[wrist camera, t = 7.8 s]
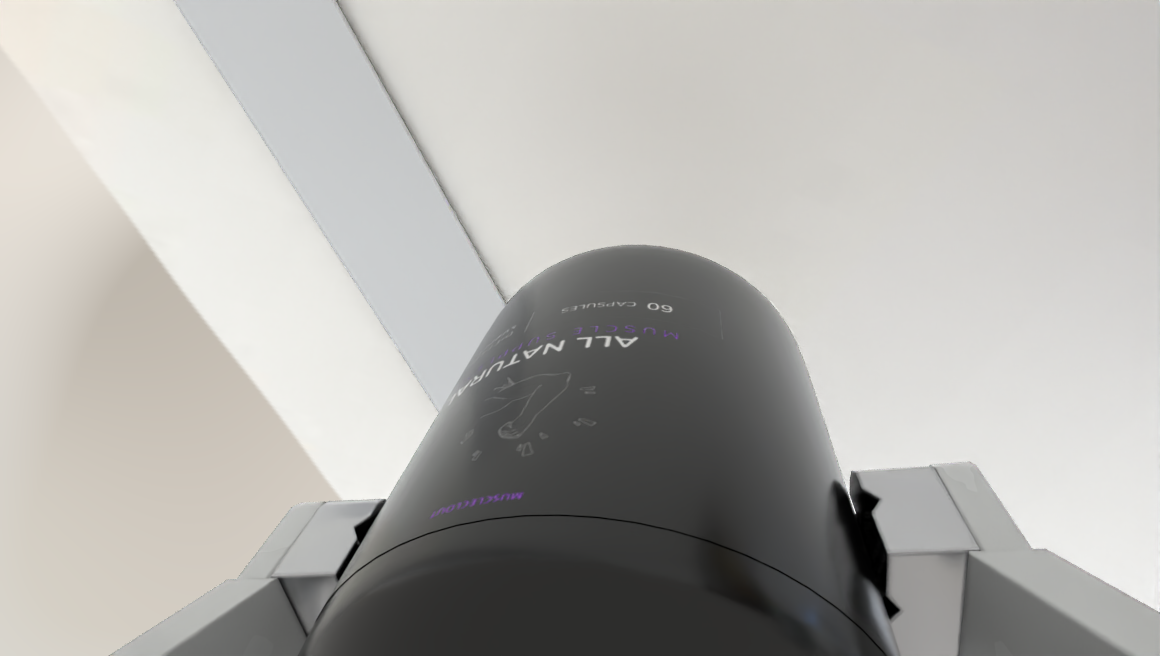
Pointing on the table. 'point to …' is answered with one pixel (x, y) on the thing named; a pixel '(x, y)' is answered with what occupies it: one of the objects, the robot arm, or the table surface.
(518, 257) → the table surface
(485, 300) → the nameplate
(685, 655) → the supplement bottle
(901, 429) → the table surface
